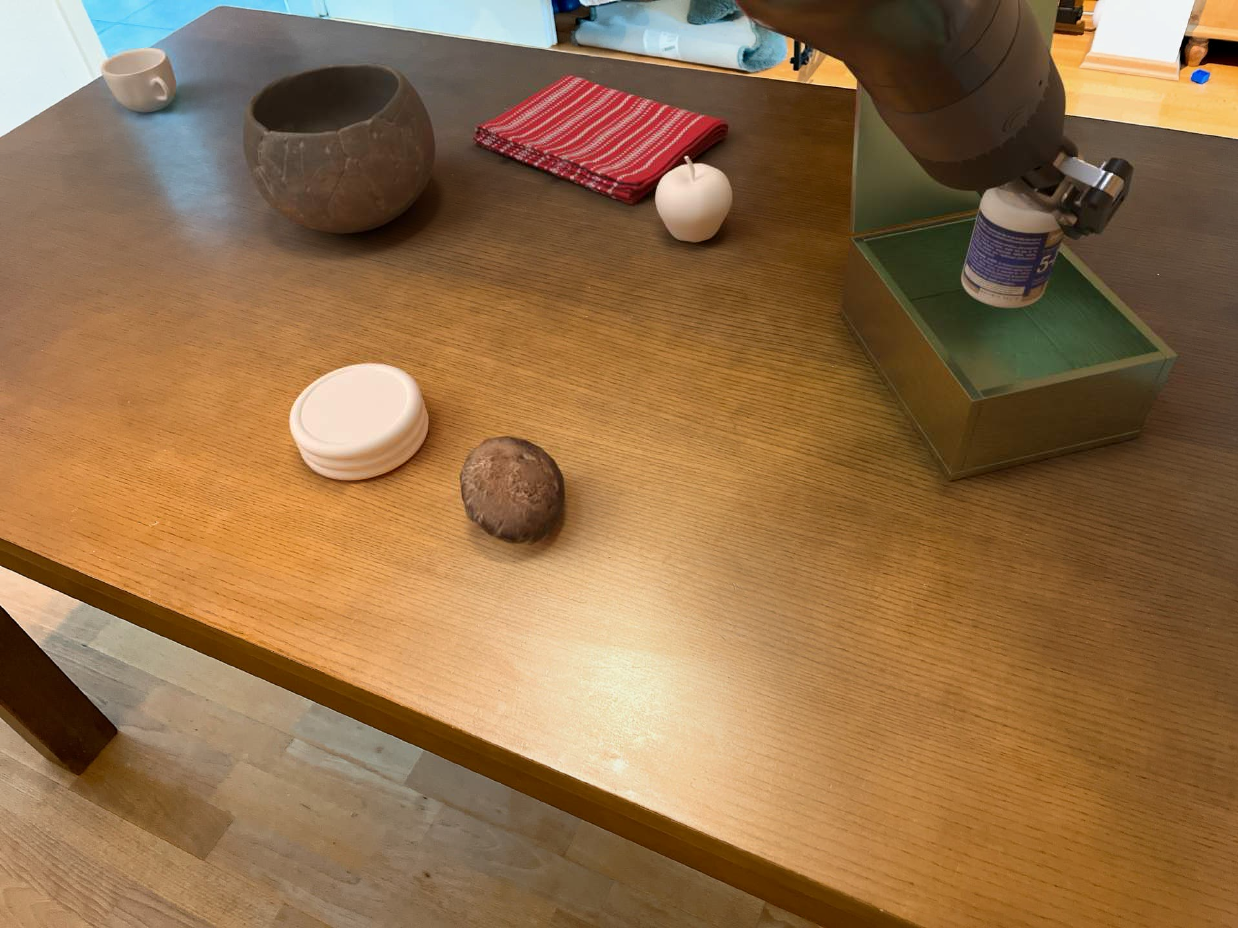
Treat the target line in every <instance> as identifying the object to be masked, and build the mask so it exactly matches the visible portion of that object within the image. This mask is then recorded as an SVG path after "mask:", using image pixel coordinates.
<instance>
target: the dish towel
mask: <svg viewBox="0 0 1238 928" xmlns="http://www.w3.org/2000/svg"><path fill="white" fill-rule="evenodd" d="M729 127H730V126H729V124H728V123H727V121H726V120H725V119H722V118H719V117H712V116H710V115H703V114H700V113H699V114H698V113H697V112H693V111H691V110H687V109H682V108H680V107H675V106H671V105H669V104H664V103H662V102H659V101H655V100H652V99H649V98H644V97H641V96H637V95H635V94H629V93H626V92H624V91H621V90H618V89H614V88H610V87H607V86H605V85H602V84H599V83H595V82H592V81H590V80H588V79H585V78H583V77H579V76H575V75H572V74H566V75H564V76H563V77H561V78H560V79H559V80H557V81H556V82H554V83H552V84H550V85H549V86H547V87H545V88H543V89H542V90H540V91H538V92H536V93H535V94H532V95H531V96H530V97H528V98H527V99H525V100H524V101H521V102H520V103H519V104H517V105H515V106H514V107H512V108H510V109H509V110H508V111H507V110H506V111H505V112H504V113H503V114H501V115H499V116H498V117H495V118H493V119H491V120H489V121H486V122H483V123H481V124H478V125H476V127H475V129H474V132H475V136H473V137H472V141H473V142H474V143H475V144H476V145H477V146H481V147H482V148H486V150H490V151H492V152H496V154H501V155H504V156H505V157H508V158H512V159H514V160H516V161H519V162H520V163H523V164H526V165H530V166H531V167H534V168H537V169H539V170H540V171H545V172H547V173H549V174H551V175H554V176H555V177H558V178H561V179H565V180H567V181H570V182H573V183H574V184H576V185H580V186H583V187H584V188H587V189H590V190H592V191H594V192H596V193H599V194H602V195H605V196H608V197H610V198H612V199H614V200H618V201H621V202H622V203H624V204H627V205H635V204H636V203H637V202H638V201H639V200H641V199H642V198H643V197H644V196H646V195H647V194H648V193H650V191H652V190H654V189H655V188H657V186H658V184H659V182H660V180H661V179H662V177H663V176H664V175H665V174H667V173H668V172H670V171H672V170H673V169H675V168H677V167H679V166H681V165H686V164H688V163H687V162H686V160H685V158H684V157H685V156H688V157H689V159H690V160H691V161H692V160H694V159H695V158H697V157H698V156H699V155H701V154H702V153H703V152H704V151H706V150H707V149H709V148H710V147H711V146H712V145H713V144H716V143H717V142H718V141H721V140H723V139H724V138H725V137H727V135H728V133H729Z"/></svg>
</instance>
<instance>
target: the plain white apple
mask: <svg viewBox="0 0 1238 928" xmlns="http://www.w3.org/2000/svg"><path fill="white" fill-rule="evenodd" d="M684 158H685V160H686V162H687V164H685V165H681V166H679V167H677V168H675V169H673V170H672V171H670V172H668V173H667V174H665V175H664V176H663V177H662V179H661V180H660V182H659V184H658V185H657V186H656V190H655V197H654V201H655V207H656V211H657V213H658V215H659V217H660V218H661V221H662V222H663V223H664V225H665V227H666V228H667V230H668V232H669V233H670V234H671V236H672V237H673V238H674V239H676V240H678V241H682V242H688V243H700V242H703V241H707V240H709V239H711V238H712V237H714V236H715V235H716V234H717V232H718V231H719V230H720V227H721V226H722V224H723V223H724V221H725V219H726V217H727V215H728V214H729V212H730V209H731V206H732V204H733V190H732V187H731V184H730V180H729V178H728V177H727V176H726V174H725V173H724V172H723V171H722V170H721V169H718V168H716V167H713V166H711V165H709V164H706V163H700V162H699V163H697V162H696V163H693V161H692V160H690V159H689V157H688V156H685V157H684Z"/></svg>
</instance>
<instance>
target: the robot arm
mask: <svg viewBox="0 0 1238 928" xmlns="http://www.w3.org/2000/svg"><path fill="white" fill-rule="evenodd" d="M733 1H734V4H735V5H736V6H737V7H738V9H739V10H740V11H741V13H743V15H744V16H745V17H747V18H748V19H749V20H750V21H751V22H753V23H754V24H755V25H758V26H760V27H761V28H764V29H766V30H767V31H770V32H773V33H775V34H778V35H781V36H783V37H787V38H789V39H792V40H794V41H796V42H799V43H801V44H803V45H805V46H808V47H809V48H812V49H814V50H816V51H818V52H820V53H822V54H824V55H826V56H828V57H830V58H833V59H835V60H838V61H840V62H842V63H843V65H844V66H845V67H846V68H847V69H848V71H849V72H850V73H851V74H852V76H853V77H854V79H856V81H857V80H858V82H859V83H860V84H861V85H862V87H863V88H864V89H865V90H866V91H867V93H868V94H869V95H870V97H871V100H872V102H873V104H874V106H875V108H876V110H877V112H878V113H879V115H880V117H881V118H882V120H883V121H884V122H885V124H886V125H887V126H888V127H889V128H890V130H891V131H892V132H893V133H894V134H895V136H896V137H897V138H898V139H899V141H900V142H901V143H902V144H903V145H904V147H905V148H906V149H907V150H908V151H909V153H910V154H911V155H912V156H913V157H914V159H915V160H916V161H917V162H918V163H919V165H920V166H921V167H922V168H923V169H924V171H925V172H926V173H927V174H928V175H929V176H930V177H931V178H933V179H934V180H935V181H937V182H938V183H940V184H942V185H944V186H946V187H949V188H952V189H956V190H961V191H976V192H977V193H978V194H979V196H980V197H981V198H982V197H983V195H984V193H985V192H986V190H988V189H992V188H996V187H998V188H999V189H1001V190H1004V191H1007V192H1011V193H1013V194H1014V195H1015V196H1016V197H1017V198H1018V199H1020V200H1021V201H1022V202H1023V203H1024V204H1025V205H1027V206H1028V207H1029V208H1030V209H1033V210H1037V211H1040V212H1043V213H1047V214H1051V215H1053V216H1054V217H1055V219H1056V221H1057V223H1058V224H1059V226H1060V228H1061V229H1062V231H1063V233H1064V237H1068V238H1069V239H1071V240H1074V241H1078V240H1079V239H1080V238H1081V237H1082V236H1084V237H1086V238H1087V237H1088V236H1090V235H1093V234H1094V235H1102V233H1103V232H1104V230H1105V229H1106V227H1107V226H1108V224H1109V223H1110V221H1111V220H1112V219H1113V217H1114V216H1115V214H1116V213H1117V211H1118V210H1119V209H1120V207H1121V206H1122V204H1123V203H1124V201H1125V199H1126V198H1127V197H1128V195H1129V192H1130V186H1131V183H1132V179H1133V178H1132V177H1133V173H1134V166H1133V165H1132V164H1130V163H1129V161H1127V159H1125V158H1119V157H1110V159H1109V160H1108V161H1105V160H1101V161H1100V162H1099V164H1098V166H1096V165H1093V164H1090V163H1088V162H1086V161H1085V157H1084V156H1083V155H1082V154H1081V153H1080V152H1079V149H1078V147H1077V145H1076V144H1075V143H1074V142H1073V141H1072V140H1071V139H1070V138H1069V137H1068V136H1066V134H1065V133H1064V127H1065V119H1066V109H1067V103H1066V102H1067V99H1066V98H1067V97H1066V90H1065V85H1064V82H1063V80H1062V77H1061V74H1060V72H1059V71H1058V70H1059V69H1058V68H1057V65H1056V63H1055V61H1054V58H1053V56H1052V53H1051V51H1049V49H1048V46H1047V44H1046V42H1045V40H1044V37H1043V35H1042V32H1041V30H1040V28H1039V25H1038V23H1037V21H1036V18H1035V16H1034V14H1033V12H1032V10H1031V8H1030V7H1029V5H1028V3H1027V2H1026V0H733ZM1071 185H1073V186H1072V188H1071V189H1070V187H1071ZM1034 189H1037V191H1035V190H1034ZM1069 189H1070V191H1069V192H1068V190H1069ZM1067 192H1068V193H1067ZM1065 193H1066V194H1067V197H1066V198H1065V200H1064V201H1063V203H1062V198H1063V196H1064V194H1065Z"/></svg>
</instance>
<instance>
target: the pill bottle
mask: <svg viewBox="0 0 1238 928" xmlns="http://www.w3.org/2000/svg"><path fill="white" fill-rule="evenodd" d="M1034 190H1035V191H1037V189H1034ZM1067 195H1068V193H1067V192H1066V193H1065V194H1064V196H1063V198H1062V203H1063V201H1064V200H1065V198H1066V197H1067ZM977 212H978V215H977V219H976V223H975V227H974V231H973V235H972V239H971V242H970V246H969V250H968V254H967V257H966V261H965V264H964V268H963V272H962V276H961V281H962V285H963V287H964V288H965V290H966V291H967V292H968V293H969V294H970V295H971V296H972V297H973V298H975V299H977V300H979V301H980V302H983V303H985V304H988V305H991V306H995V307H1001V308H1019V307H1024V306H1027V305H1030V304H1032V303H1034V302H1036V301H1037V300H1038V299H1039V298H1040V297H1041V296H1042V295H1043V293H1044V291H1045V288H1046V286H1047V283H1048V280H1049V277H1050V274H1051V271H1052V268H1053V265H1054V262H1055V259H1056V256H1057V254H1058V251H1059V248H1060V245H1061V242H1062V243H1063V239H1064V237H1065V234H1064V233H1063V231H1062V229H1061V228H1060V226H1059V224H1058V223H1057V221H1056V219H1055V217H1054V216H1053V215H1051V214H1047V213H1043V212H1040V211H1037V210H1033V209H1030V208H1029V207H1028V206H1027V205H1025V204H1024V203H1023V202H1022V201H1021V200H1020V199H1018V198H1017V197H1016V196H1015V195H1014V194H1013V193H1011V192H1007V191H1004V190H1001V189H999V188H998V187H996V188H992V189H988V190H986V192H985V193H984V195H983V197H982V200H981V203H980V207H979V209H978V211H977Z"/></svg>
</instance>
